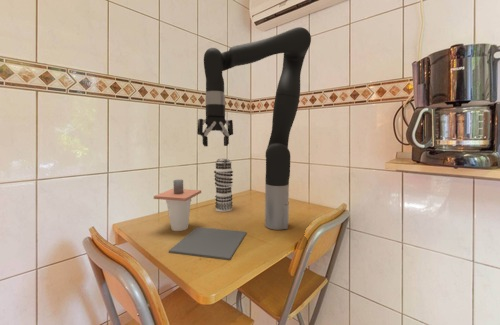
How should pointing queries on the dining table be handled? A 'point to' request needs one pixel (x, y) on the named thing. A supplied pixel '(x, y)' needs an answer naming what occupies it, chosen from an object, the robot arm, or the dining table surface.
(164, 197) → the lid
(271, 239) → the dining table surface
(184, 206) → the foam cup
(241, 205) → the dining table surface
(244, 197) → the dining table surface
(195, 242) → the mat
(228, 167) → the decorative candle
